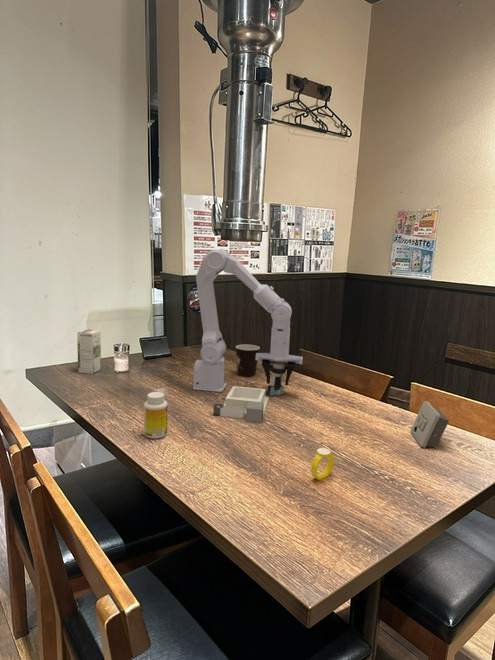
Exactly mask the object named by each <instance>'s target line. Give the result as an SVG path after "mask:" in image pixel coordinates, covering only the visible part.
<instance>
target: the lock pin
mask: <svg viewBox="0 0 495 660" xmlns="http://www.w3.org/2000/svg"><path fill="white" fill-rule="evenodd" d="M212 412H213V414H212V415H213V416H215V417H224V418H225V417H226V418H233V419H241V420H242V419H243V420H244V418H245V415H246V414H245V408H244V407H234V406H225V405H224V404H222V403H215V404H214V403H213V411H212Z"/></svg>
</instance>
